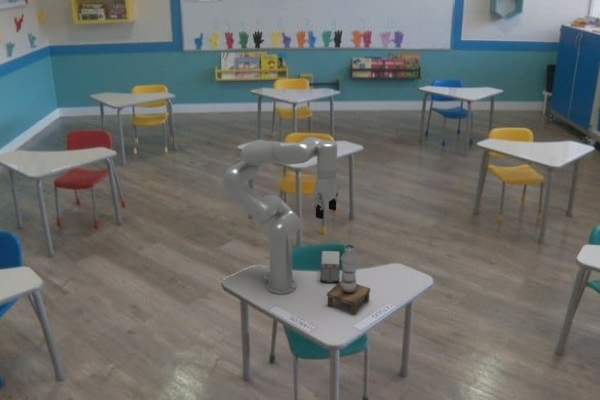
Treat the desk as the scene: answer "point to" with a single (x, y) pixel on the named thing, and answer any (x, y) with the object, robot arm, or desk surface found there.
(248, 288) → the desk surface
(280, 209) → the robot arm
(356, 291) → the walnut stand
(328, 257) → the toy vehicle
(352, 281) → the plastic bottle
